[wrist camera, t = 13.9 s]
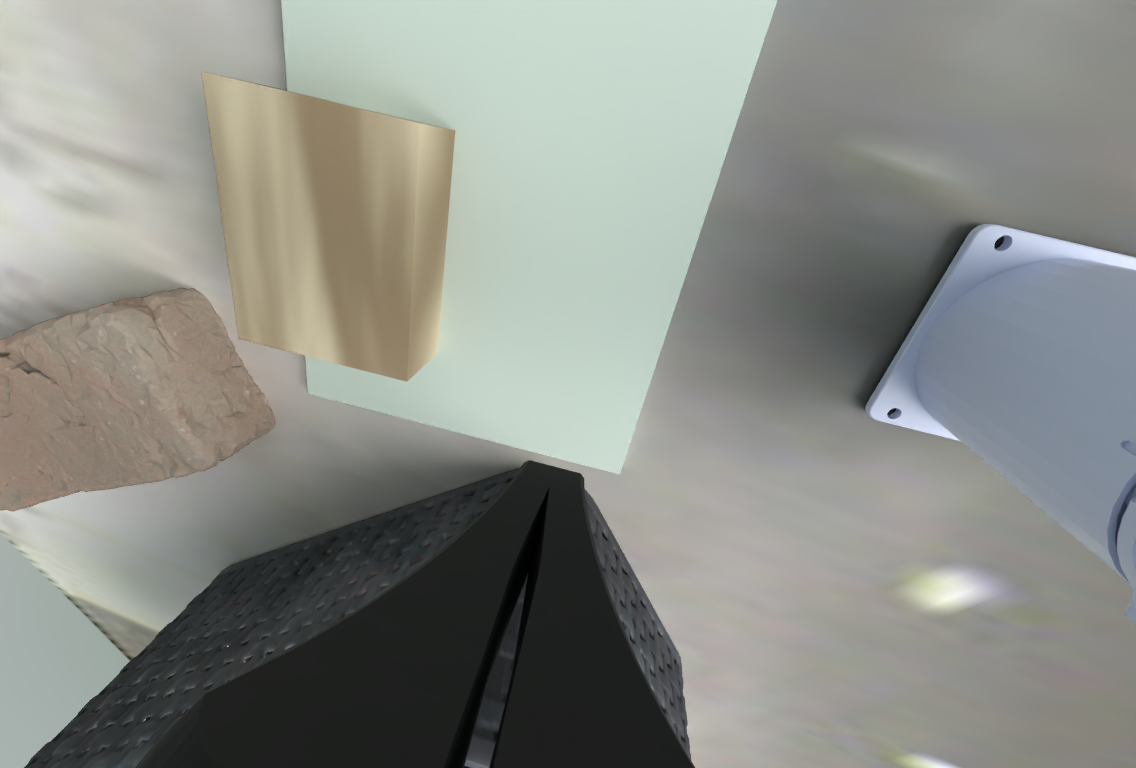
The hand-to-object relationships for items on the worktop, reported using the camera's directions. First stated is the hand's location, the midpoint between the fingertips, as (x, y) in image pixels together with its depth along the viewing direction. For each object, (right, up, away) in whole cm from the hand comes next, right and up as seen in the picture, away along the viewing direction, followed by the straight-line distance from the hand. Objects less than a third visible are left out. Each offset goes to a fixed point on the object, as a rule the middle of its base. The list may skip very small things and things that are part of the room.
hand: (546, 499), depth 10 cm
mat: (-3, +9, +8) cm, 12 cm away
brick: (-24, +3, +15) cm, 28 cm away
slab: (-5, +7, +6) cm, 11 cm away
